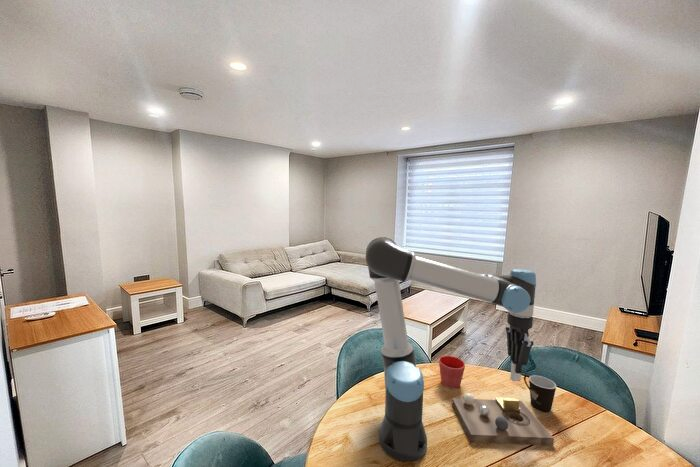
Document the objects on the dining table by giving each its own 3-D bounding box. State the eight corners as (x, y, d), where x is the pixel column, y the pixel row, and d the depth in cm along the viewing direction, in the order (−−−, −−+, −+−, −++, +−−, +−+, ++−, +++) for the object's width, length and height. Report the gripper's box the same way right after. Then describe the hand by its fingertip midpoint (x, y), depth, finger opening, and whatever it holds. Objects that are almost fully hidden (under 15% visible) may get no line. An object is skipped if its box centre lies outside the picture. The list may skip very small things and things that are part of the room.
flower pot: (466, 381, 124) (467, 359, 124) (461, 394, 115) (462, 371, 114) (441, 373, 130) (442, 353, 129) (435, 385, 121) (435, 363, 120)
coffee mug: (559, 416, 103) (561, 390, 102) (533, 412, 105) (534, 387, 104) (544, 396, 114) (545, 372, 114) (520, 393, 116) (522, 370, 115)
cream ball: (465, 407, 103) (465, 397, 103) (461, 400, 107) (462, 390, 107) (475, 407, 103) (476, 397, 103) (471, 400, 107) (472, 391, 107)
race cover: (503, 410, 102) (503, 400, 101) (495, 399, 108) (495, 389, 107) (520, 411, 101) (520, 400, 101) (511, 400, 107) (511, 390, 107)
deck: (470, 441, 91) (471, 434, 90) (452, 404, 109) (452, 398, 108) (553, 445, 90) (553, 438, 90) (520, 407, 108) (521, 400, 108)
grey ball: (498, 433, 91) (498, 421, 91) (492, 424, 95) (493, 413, 95) (510, 433, 91) (510, 422, 91) (504, 424, 95) (504, 414, 95)
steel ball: (481, 418, 97) (481, 409, 97) (477, 412, 101) (477, 403, 101) (491, 419, 97) (491, 409, 97) (486, 412, 101) (487, 403, 101)
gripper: (543, 321, 91) (537, 392, 93) (520, 308, 104) (515, 370, 106) (520, 320, 91) (514, 391, 93) (499, 307, 104) (495, 369, 106)
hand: (515, 379), depth 99 cm, fingers closed
